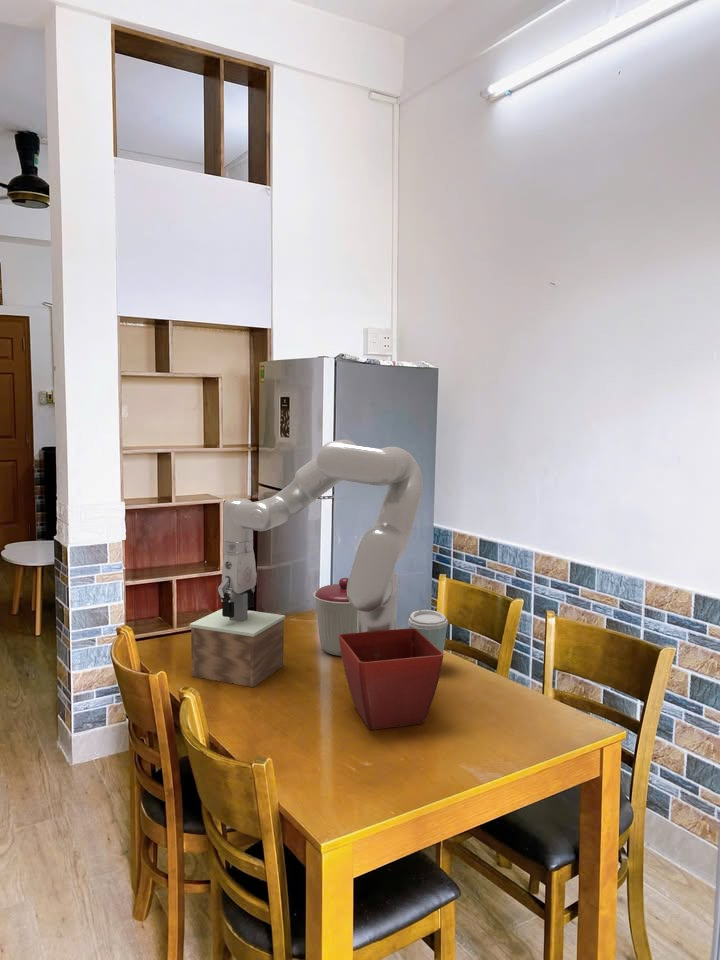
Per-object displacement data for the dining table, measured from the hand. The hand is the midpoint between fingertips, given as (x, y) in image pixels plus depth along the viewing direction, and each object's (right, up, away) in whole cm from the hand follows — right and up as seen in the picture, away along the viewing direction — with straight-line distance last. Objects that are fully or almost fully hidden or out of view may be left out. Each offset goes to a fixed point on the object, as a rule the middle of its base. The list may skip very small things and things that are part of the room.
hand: (238, 611), depth 187 cm
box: (0, -16, +2) cm, 16 cm away
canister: (+27, -15, +19) cm, 36 cm away
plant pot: (+38, -19, -24) cm, 49 cm away
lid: (0, -3, 0) cm, 3 cm away
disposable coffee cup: (+49, -16, +5) cm, 52 cm away
